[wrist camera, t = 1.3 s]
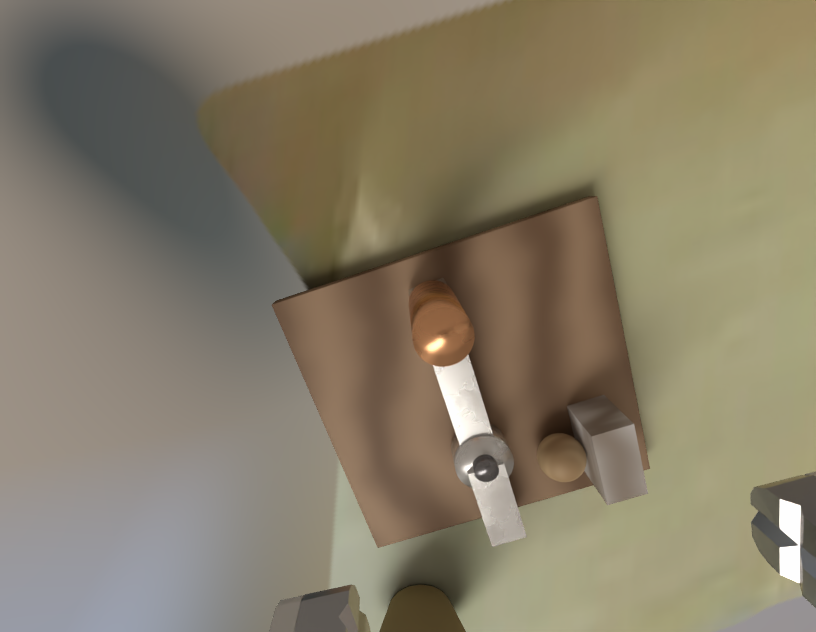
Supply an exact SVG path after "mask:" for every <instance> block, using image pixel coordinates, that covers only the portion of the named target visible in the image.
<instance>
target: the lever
mask: <svg viewBox="0 0 816 632" xmlns="http://www.w3.org/2000/svg"><path fill="white" fill-rule="evenodd" d="M408 290H409V314H410V322H411V331H412V339H413V345H414V348H415V351H416V352H417V354H418V355H419V357H420V358H421V359H423V360H424V361H425V362H427V363H429V364H431V365H433V368H434V371H435V373H436V376H437V379H438V382H439V385H440V388H441V391H442V394H443V397H444V400H445V403H446V406H447V409H448V412H449V415H450V418H451V421H452V424H453V427H454V430H455V433H456V434H455V436H454V438H453V440H452V444H451V452H452V456H453V461H454V465H455V470H456V474H457V476H458V478H459V479H460V480H461V482H463V483H464V484H465V485H466V486H468V487H470V488H473V491H474V494H475V497H476V500H477V503H478V506H479V509H480V512H481V515H482V518H483V521H484V524H485V527H486V530H487V533H488V536H489V538H490V541H491V544H492V547H493V546H497V545H500V544H504V543H507V542H511V541H514V540H518V539H521V538H525V537H527V536H526V533H525V529H524V526H523V523H522V520H521V516H520V513H519V510H518V507H517V503H516V500H515V497H514V494H513V491H512V487H511V484H510V481H509V476H510V475H511V473H512V470H513V467H514V459H513V455H512V453H511V450H510V448H509V446H508V444H507V441H506V439H505V437H504V435H503V433H502V432H501V431H500V429H498V428H497V427H496V426H494V425H492V424H490V423H489V419H488V416H487V413H486V410H485V406H484V403H483V400H482V397H481V394H480V390H479V387H478V384H477V381H476V377H475V374H474V371H473V368H472V365H471V361H470V358H469V355H468V354H469V353H470V351H471V349H472V347H473V344H474V339H475V334H474V328H473V326H472V323H471V322H470V320H469V318H468V316H467V315H466V313H465V311H464V310H463V308H462V306H461V304H460V303H459V301H458V299H457V298H456V296H455V294H454V292H453V291H452V289H451V288H450V287H449V286H448V285H447V284H446V282H445V280H444V278H442V279H438V280H430V281H425V282H423V283H421V284H419V285H418V286H416V287H414V288H411V289H408Z"/></svg>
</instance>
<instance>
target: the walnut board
mask: <svg viewBox="0 0 816 632" xmlns="http://www.w3.org/2000/svg"><path fill="white" fill-rule="evenodd" d="M442 278H444V280H445V282H446V284H447V285H448V286H449V287H450V288H451V289H452V291H453V292H454V294H455V296H456V298H457V299H458V301H459V303H460V304H461V306H462V308H463V310H464V311H465V313H466V315H467V316H468V318H469V320H470V322H471V323H472V326H473V328H474V334H475V339H474V344H473V347H472V349H471V351H470V353H469V354H468V355H469V358H470V361H471V365H472V368H473V371H474V374H475V377H476V381H477V384H478V387H479V390H480V394H481V397H482V400H483V403H484V406H485V410H486V413H487V416H488V419H489V423H490V424H492V425H494V426H496V427H497V428H498V429H500V431H501V432H502V433H503V435H504V437H505V439H506V441H507V444H508V446H509V448H510V450H511V453H512V455H513V459H514V467H513V470H512V473H511V475H510V476H509V481H510V484H511V487H512V491H513V494H514V497H515V500H516V503H517V507H520V506H523V505H527V504H530V503H534V502H537V501H540V500H544V499H547V498H551V497H554V496H558V495H561V494H565V493H568V492H571V491H575V490H578V489H582V488H585V487H589V486H592V485H594V486H595V487H596V489H597V490H598V492H599V493H600V495H601V496H602V498H603V499H604V501H605V502H606V504H607V505H610V504H613V503H617V502H620V501H624V500H627V499H631V498H634V497H637V496H641V495H644V494H648V491H647V486H646V481H645V476H644V470H647V469H650V466H649V461H648V456H647V450H646V445H645V440H644V435H643V430H642V425H641V420H640V414H639V409H638V404H637V399H636V394H635V389H634V384H633V378H632V373H631V368H630V363H629V358H628V353H627V347H626V342H625V337H624V332H623V327H622V322H621V317H620V311H619V306H618V301H617V296H616V291H615V286H614V281H613V275H612V270H611V265H610V260H609V255H608V250H607V245H606V239H605V234H604V229H603V224H602V219H601V214H600V209H599V203H598V198H597V196H588V197H585V198H582V199H579V200H576V201H573V202H570V203H567V204H564V205H562V206H559V207H556V208H553V209H550V210H547V211H544V212H541V213H538V214H535V215H532V216H529V217H526V218H523V219H520V220H517V221H514V222H511V223H508V224H505V225H502V226H499V227H496V228H493V229H490V230H487V231H484V232H481V233H478V234H475V235H472V236H469V237H466V238H463V239H460V240H457V241H454V242H451V243H448V244H445V245H442V246H439V247H436V248H433V249H430V250H427V251H424V252H421V253H418V254H415V255H412V256H409V257H406V258H403V259H400V260H397V261H394V262H391V263H388V264H385V265H382V266H379V267H376V268H373V269H370V270H367V271H364V272H361V273H358V274H355V275H352V276H349V277H346V278H343V279H340V280H337V281H334V282H331V283H328V284H325V285H322V286H319V287H316V288H313V289H310V290H307V291H304V292H301V293H298V294H295V295H292V296H289V297H286V298H283V299H280V300H277V301H275V302H274V303H273V304H272V307H273V309H274V311H275V313H276V316H277V318H278V320H279V323H280V325H281V327H282V330H283V332H284V334H285V336H286V339H287V341H288V343H289V346H290V348H291V350H292V353H293V355H294V357H295V359H296V362H297V364H298V366H299V368H300V371H301V373H302V375H303V378H304V380H305V382H306V384H307V387H308V389H309V391H310V394H311V396H312V398H313V401H314V403H315V405H316V407H317V410H318V412H319V414H320V417H321V419H322V421H323V423H324V426H325V428H326V430H327V433H328V435H329V437H330V439H331V442H332V444H333V446H334V449H335V451H336V453H337V456H338V458H339V460H340V462H341V465H342V467H343V469H344V472H345V474H346V476H347V478H348V481H349V483H350V485H351V488H352V490H353V492H354V494H355V497H356V499H357V501H358V504H359V506H360V508H361V510H362V513H363V515H364V517H365V520H366V522H367V524H368V526H369V529H370V531H371V533H372V536H373V538H374V540H375V543H376V545H377V547H378V548H379V547H382V546H386V545H389V544H393V543H396V542H400V541H403V540H406V539H410V538H413V537H417V536H420V535H424V534H427V533H431V532H434V531H437V530H441V529H444V528H448V527H451V526H455V525H458V524H461V523H465V522H468V521H472V520H475V519H479V518H482V515H481V512H480V509H479V506H478V503H477V500H476V497H475V494H474V491H473V488H470V487H468V486H466V485H465V484H464V483H463V482H461V480H460V479H459V478H458V476H457V474H456V470H455V465H454V461H453V456H452V452H451V444H452V440H453V438H454V436H455V434H456V433H455V430H454V427H453V424H452V421H451V418H450V415H449V412H448V409H447V406H446V403H445V400H444V397H443V394H442V391H441V388H440V385H439V382H438V379H437V376H436V373H435V371H434V368H433V365H431V364H429V363H427V362H425V361H424V360H423V359H421V358H420V357H419V355H418V354H417V352H416V351H415V348H414V345H413V339H412V331H411V322H410V314H409V290H408V289H411V288H414V287H416V286H418V285H419V284H421V283H423V282H425V281H430V280H438V279H442ZM555 433H564V434H568V435H570V436H572V437H574V438H575V439H576V440H578V441H579V442H580V444H581V445H582V446H583V448H584V450H585V453H586V458H587V462H586V467H585V470H584V472H583V473H582V475H581V476H580V477H578V478H577V479H576V480H573V481H570V482H558V481H555V480H553V479H551V478H549V477H548V476H547V475H546V474H545V473H544V472H543V471H542V470H541V468H540V466H539V464H538V460H537V450H538V447H539V444H540V443H541V441H542V440H543V439H544V438H545V437H547V436H549V435H551V434H555Z"/></svg>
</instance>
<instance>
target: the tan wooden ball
mask: <svg viewBox="0 0 816 632" xmlns="http://www.w3.org/2000/svg"><path fill="white" fill-rule="evenodd" d="M537 460H538V464H539V466H540V468H541V470H542V471H543V472H544V473H545V474H546V475H547V476H548V477H549V478H551V479H553V480H555V481H558V482H570V481H573V480H576V479H577V478H578V477H580V476H581V475H582V473H583V472H584V470H585V467H586V462H587V458H586V453H585V450H584V448H583V446H582V445H581V444H580V442H579V441H578V440H576V439H575V438H574V437H572V436H570V435H568V434H564V433H555V434H551V435H549V436H547V437H545V438H544V439H543V440H542V441H541V443H540V444H539V447H538V450H537Z"/></svg>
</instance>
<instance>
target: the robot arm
mask: <svg viewBox="0 0 816 632" xmlns="http://www.w3.org/2000/svg"><path fill="white" fill-rule="evenodd" d="M751 505H752V506H754V507H755V508H756V509H757V510H758V513H757V514H756V516H755V517H754V519H753V520H752V522H751V527H752V537H753V539H754V541H755V543H756V545H757V547H758V550H759V552H760V553H761V554H762V556H763V557H764V558H765V559H766V561H767V562H768V563H769V564H770V565H771V566H772V567H773V568H774V569H775V570H776V571H777V572H778V573H779V574H780V575H782V576H785V577H787V578H789V579H791V580H794V581H796V582H798V583H800V587H801V591H802V595H803V597H804V598H805V599H807V600H808V601H809V602H810V603H811V604H812V605H813V606H814V607H815V608H816V472H812V473H808V474H805V475H800V476H796V477H792V478H788V479H784V480H780V481H776V482H772V483H768V484H764V485H760V486H756V487H754V489H753V490H752V492H751ZM359 604H360V597H359V595H358V592H357V589H356V587H355V585H347V586H343V587H338V588H333V589H329V590H324V591H320V592H314V593H310V594H305V595H303V596H298V597H293V598H289V599H284V600H280V602H279V603H278V605H277V606H276V608H275V611H274V615H273V619H272V622H271V626H270V630H269V632H370V627H369V623H368V620H367V617H366V615H365V614H364V613H362V612H361V611H359Z"/></svg>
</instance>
